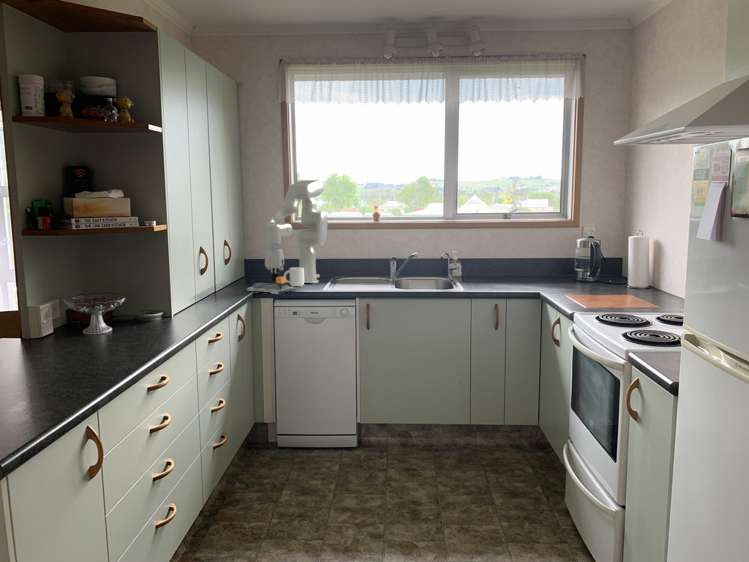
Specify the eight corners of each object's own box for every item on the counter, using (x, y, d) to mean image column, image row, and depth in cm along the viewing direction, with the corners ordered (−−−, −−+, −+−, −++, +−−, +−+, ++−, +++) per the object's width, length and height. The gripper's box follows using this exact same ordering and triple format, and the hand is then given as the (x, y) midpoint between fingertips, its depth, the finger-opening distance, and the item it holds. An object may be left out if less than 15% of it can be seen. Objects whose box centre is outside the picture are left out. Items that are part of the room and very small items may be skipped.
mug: (282, 287, 344) (281, 269, 342) (285, 284, 352) (285, 267, 350) (302, 287, 342) (302, 269, 341) (306, 284, 350) (305, 267, 349)
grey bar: (294, 290, 331) (294, 288, 330) (296, 290, 330) (296, 288, 330) (279, 294, 319) (279, 291, 319) (281, 294, 318) (281, 291, 318)
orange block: (280, 287, 329) (280, 276, 328) (286, 287, 327) (285, 277, 326) (276, 288, 325) (275, 277, 325) (281, 288, 324) (281, 278, 323)
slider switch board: (263, 287, 341) (263, 281, 341) (294, 290, 331) (293, 284, 331) (247, 291, 329) (247, 285, 328) (278, 294, 319) (278, 287, 318)
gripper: (258, 247, 325) (260, 280, 328) (281, 248, 318) (282, 282, 321) (267, 245, 332) (269, 278, 334) (289, 246, 324) (290, 280, 327)
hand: (275, 280), depth 328 cm, fingers closed
